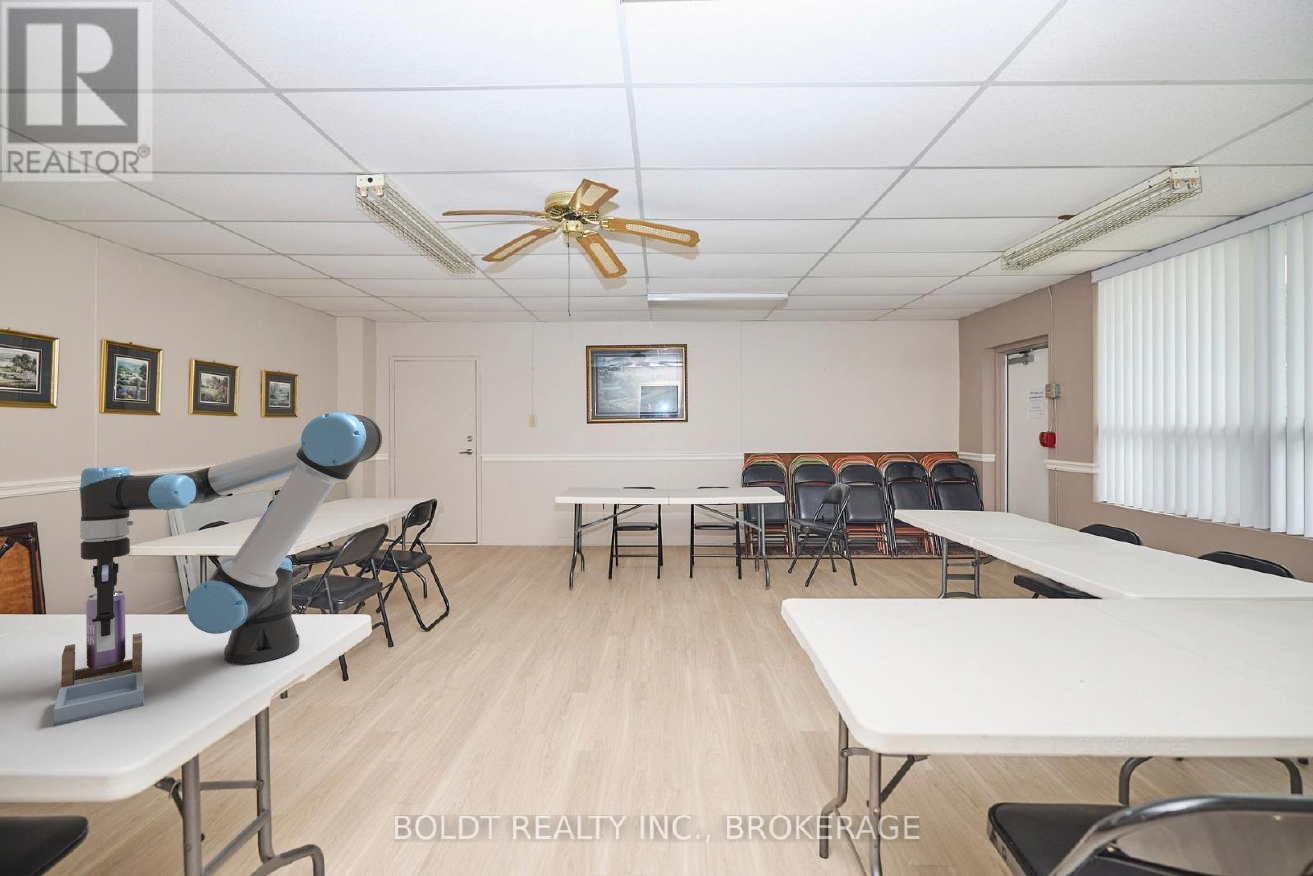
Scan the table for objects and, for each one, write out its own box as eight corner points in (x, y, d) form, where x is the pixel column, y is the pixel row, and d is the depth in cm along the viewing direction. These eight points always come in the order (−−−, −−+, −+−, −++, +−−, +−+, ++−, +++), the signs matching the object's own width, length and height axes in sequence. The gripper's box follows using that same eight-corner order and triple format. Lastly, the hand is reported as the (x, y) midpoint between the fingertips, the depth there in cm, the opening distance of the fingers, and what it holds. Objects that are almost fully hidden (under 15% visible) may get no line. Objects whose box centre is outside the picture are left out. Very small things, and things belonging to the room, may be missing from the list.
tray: (143, 705, 110) (143, 690, 110) (53, 726, 102) (53, 709, 102) (142, 685, 119) (142, 671, 119) (59, 703, 110) (59, 688, 110)
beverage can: (132, 660, 122) (131, 591, 123) (97, 671, 117) (97, 599, 117) (114, 657, 124) (114, 589, 124) (79, 668, 119) (79, 597, 119)
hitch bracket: (141, 681, 120) (142, 644, 121) (60, 699, 112) (61, 658, 112) (141, 666, 129) (141, 631, 129) (65, 681, 121) (65, 643, 121)
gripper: (129, 541, 116) (130, 653, 116) (129, 531, 130) (130, 631, 130) (77, 546, 111) (78, 663, 111) (83, 535, 125) (84, 639, 125)
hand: (106, 646), depth 121 cm, fingers closed on beverage can, 6 cm apart
